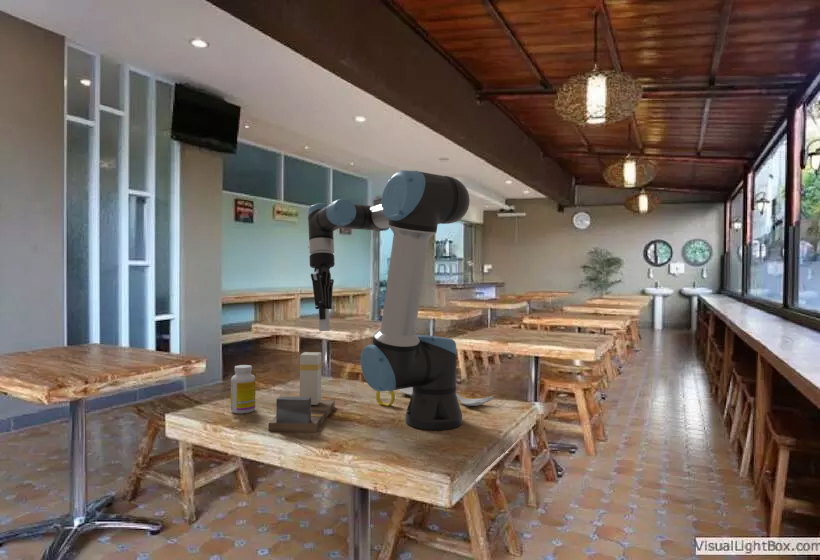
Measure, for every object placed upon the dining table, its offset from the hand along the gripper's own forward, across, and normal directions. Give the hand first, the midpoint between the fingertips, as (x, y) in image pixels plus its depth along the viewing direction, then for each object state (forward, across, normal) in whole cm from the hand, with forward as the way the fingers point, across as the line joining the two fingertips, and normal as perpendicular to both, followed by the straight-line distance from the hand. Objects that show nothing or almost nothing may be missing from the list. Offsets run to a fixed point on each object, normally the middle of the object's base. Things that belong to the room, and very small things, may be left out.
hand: (324, 330), depth 156 cm
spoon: (+24, -18, +31) cm, 43 cm away
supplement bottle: (+22, +9, -22) cm, 32 cm away
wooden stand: (+24, +11, -2) cm, 27 cm away
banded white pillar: (+21, +4, -3) cm, 21 cm away
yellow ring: (+23, -8, +15) cm, 29 cm away
